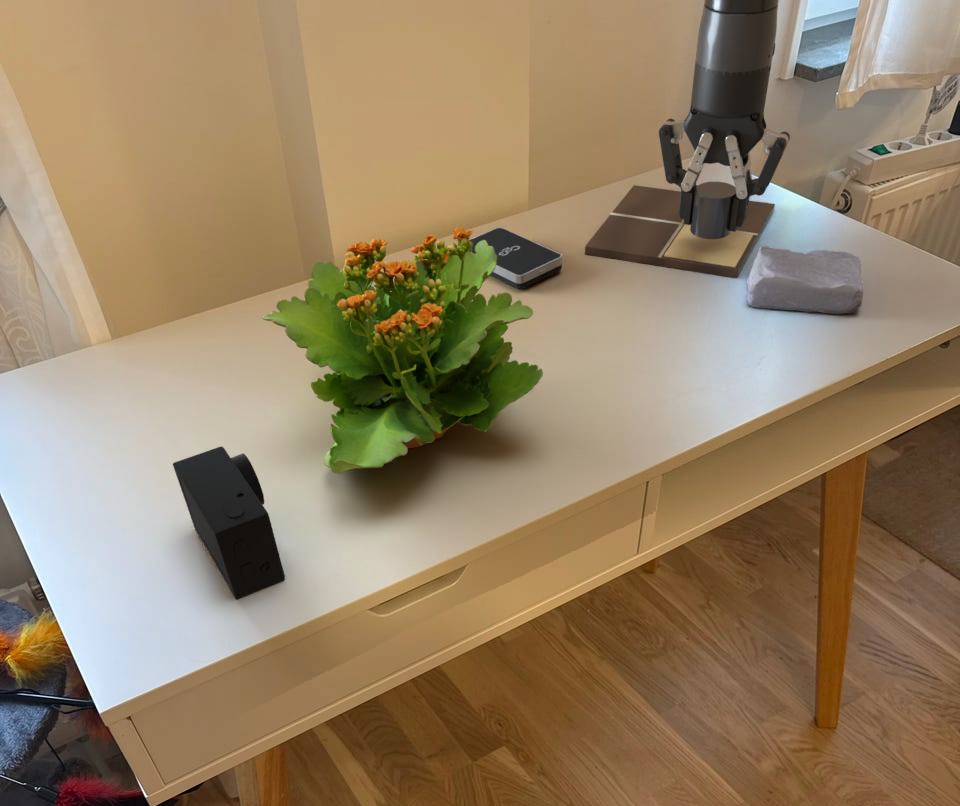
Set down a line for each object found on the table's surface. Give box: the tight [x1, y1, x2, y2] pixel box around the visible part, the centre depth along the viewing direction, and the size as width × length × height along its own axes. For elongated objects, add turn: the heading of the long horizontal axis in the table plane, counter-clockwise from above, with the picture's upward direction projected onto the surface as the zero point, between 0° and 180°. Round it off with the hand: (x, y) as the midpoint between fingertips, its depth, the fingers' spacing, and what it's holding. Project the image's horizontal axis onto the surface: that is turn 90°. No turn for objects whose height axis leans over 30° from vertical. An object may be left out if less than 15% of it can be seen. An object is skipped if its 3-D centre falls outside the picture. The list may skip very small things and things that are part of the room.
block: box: [745, 245, 864, 315], centre depth 104 cm, size 12×5×10 cm
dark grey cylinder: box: [690, 181, 736, 239], centre depth 108 cm, size 5×5×4 cm
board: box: [584, 184, 776, 279], centre depth 115 cm, size 18×18×1 cm
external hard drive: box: [468, 226, 563, 290], centre depth 111 cm, size 7×11×2 cm, turn 41°
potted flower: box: [262, 227, 544, 475], centre depth 86 cm, size 25×24×18 cm
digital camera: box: [172, 446, 286, 600], centre depth 77 cm, size 10×5×7 cm, turn 30°
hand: (711, 224), depth 109 cm, fingers closed on dark grey cylinder, 4 cm apart
